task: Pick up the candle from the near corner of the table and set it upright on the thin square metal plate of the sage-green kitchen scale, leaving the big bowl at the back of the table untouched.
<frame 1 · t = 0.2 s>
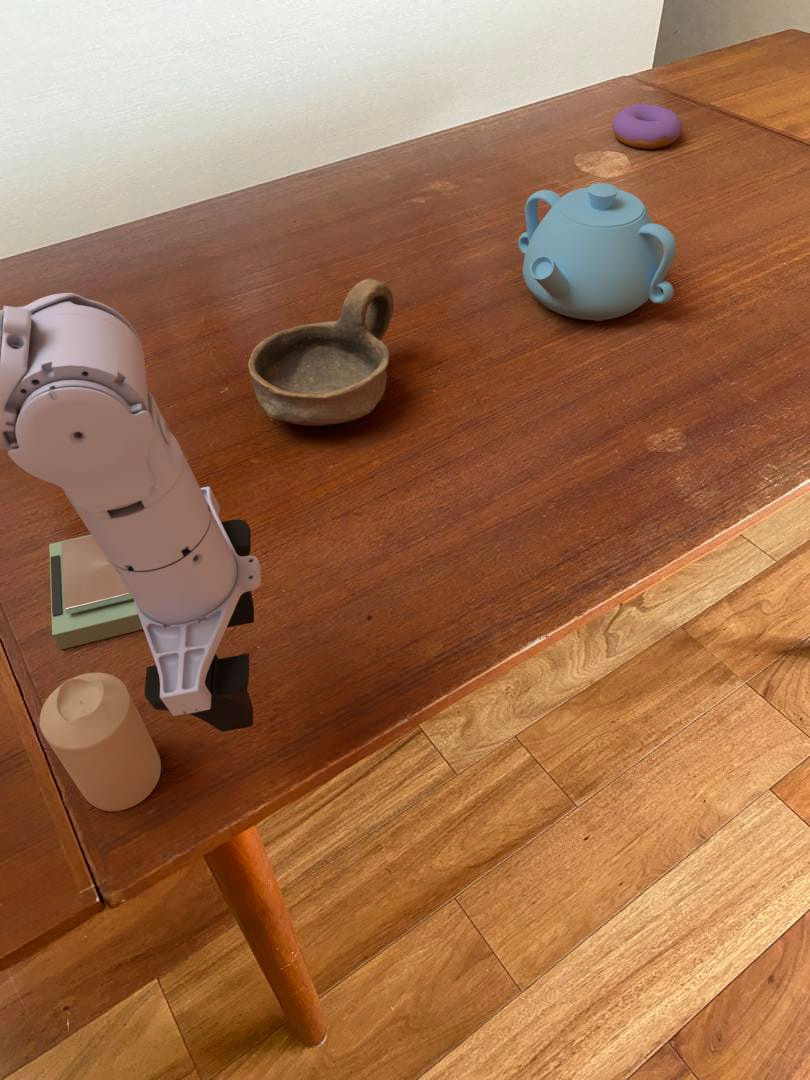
hand: (238, 670, 54), 9 cm above the table, tool pointing down, fingers open, 7 cm apart
teapot: (577, 305, 98), on the table
thin square metal plate: (111, 566, 70), point 3 cm above the table, slide at 0.1 cm
bowl: (335, 398, 88), on the table
candle: (122, 776, 60), on the table
donut: (644, 140, 128), on the table
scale: (120, 587, 72), on the table
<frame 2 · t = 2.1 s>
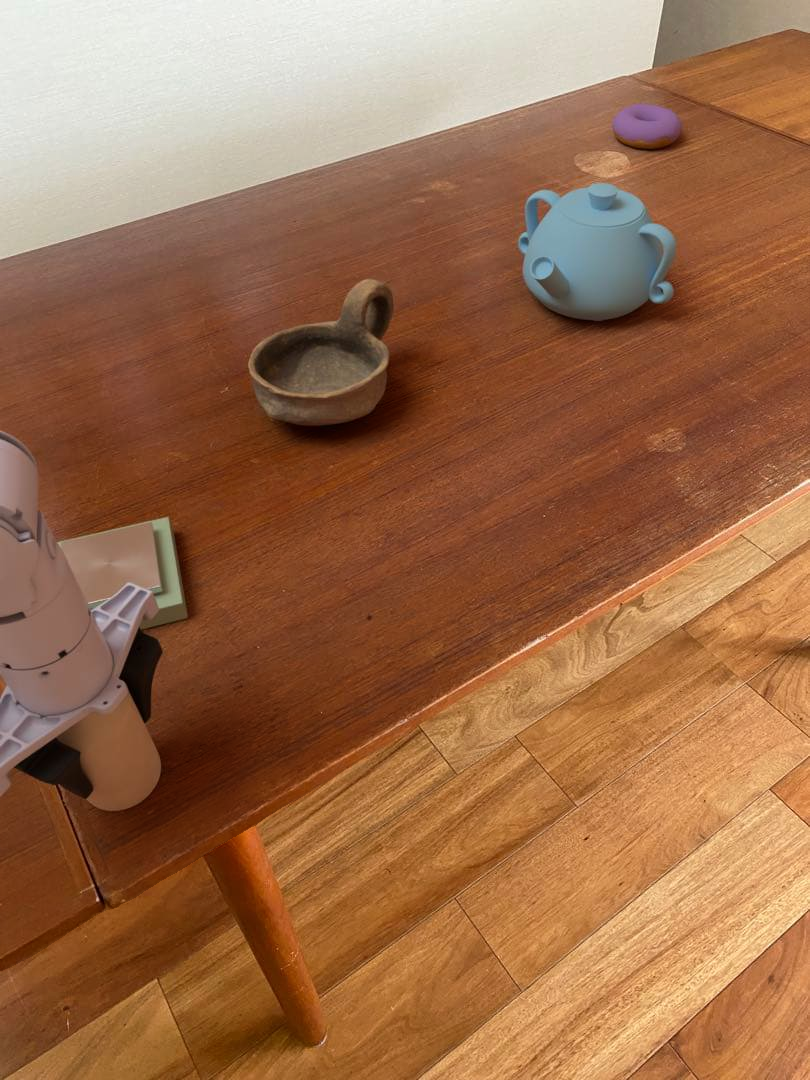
hand: (108, 751, 58), 3 cm above the table, tool pointing down, fingers closed on candle, 5 cm apart
candle: (122, 776, 60), on the table, touching gripper
everything else where it was.
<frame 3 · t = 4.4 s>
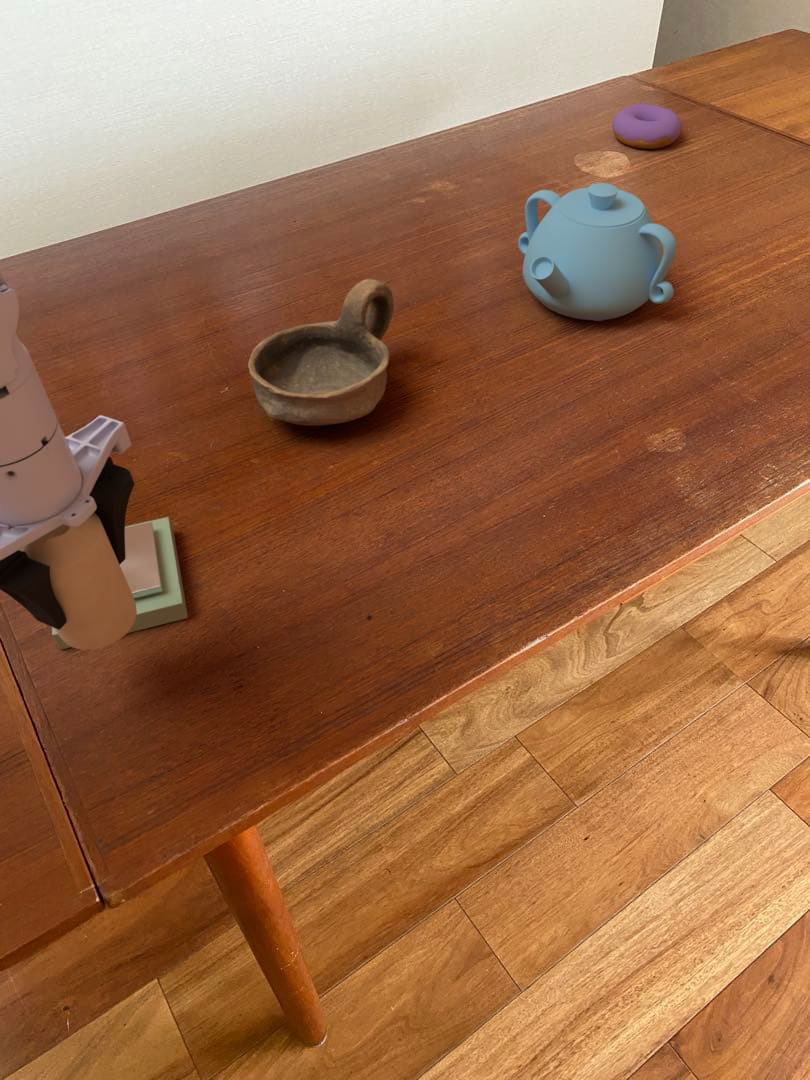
hand: (82, 588, 58), 10 cm above the table, tool pointing down, fingers closed on candle, 5 cm apart
candle: (99, 620, 61), point 7 cm above the table, touching gripper
everything else where it was.
when the fingers open (6 cm above the table, at t = 6.9 s): candle stays where it is, resting on thin square metal plate.
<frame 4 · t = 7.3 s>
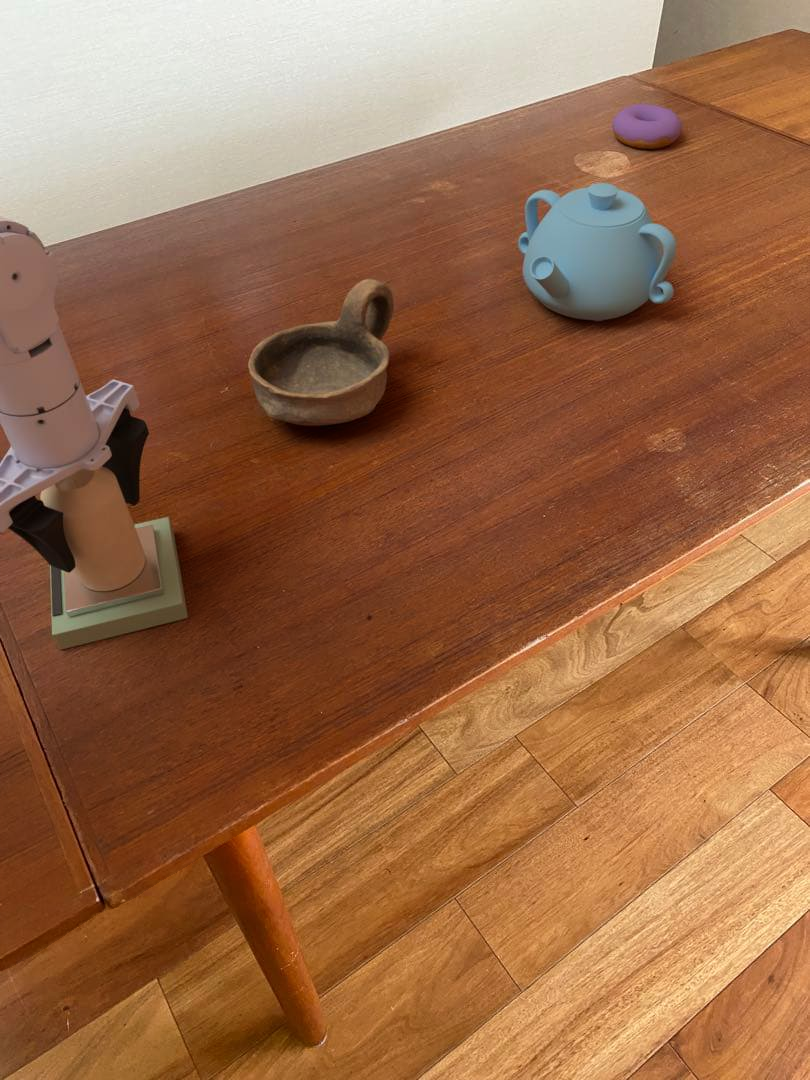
hand: (96, 531, 67), 7 cm above the table, tool pointing down, fingers open, 7 cm apart
thin square metal plate: (112, 568, 70), point 2 cm above the table, slide at -0.2 cm, touching candle
candle: (112, 567, 70), point 3 cm above the table, touching thin square metal plate
everything else where it was.
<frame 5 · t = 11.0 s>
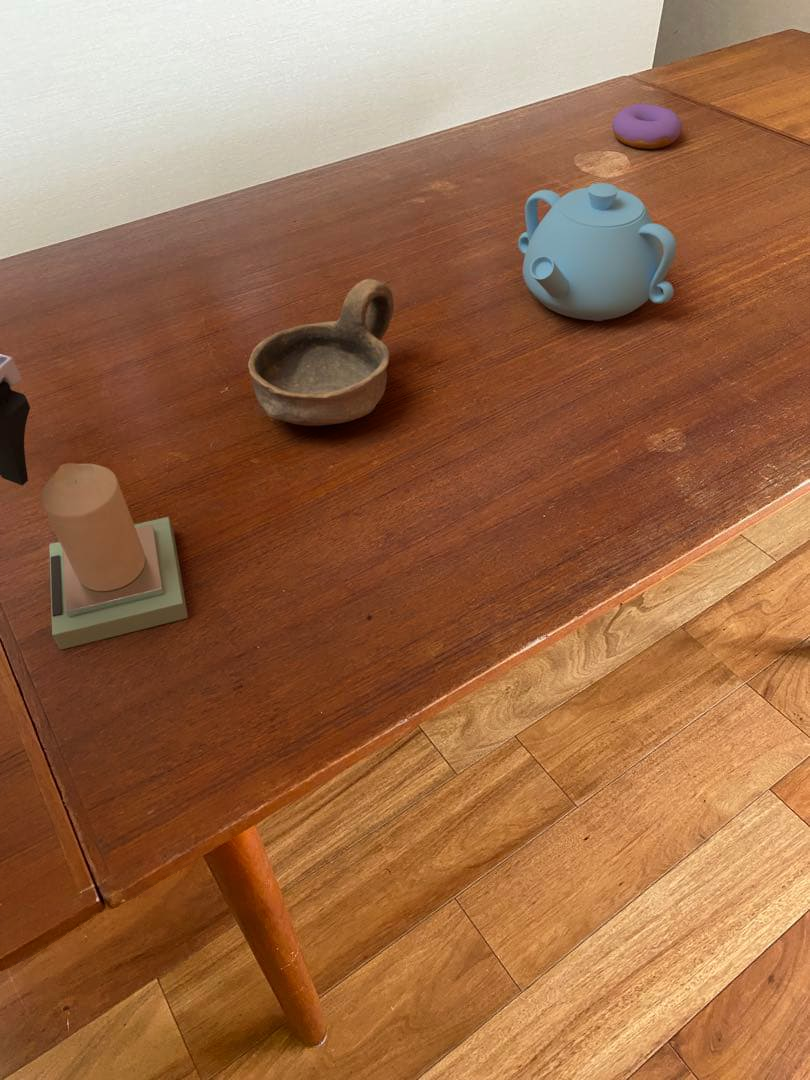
nothing on the table moved.
at the end: candle 0.0 cm off-centre on the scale, point 2.6 cm above the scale's base; candle tilted 0°; bowl moved 0.2 cm from its start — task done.
